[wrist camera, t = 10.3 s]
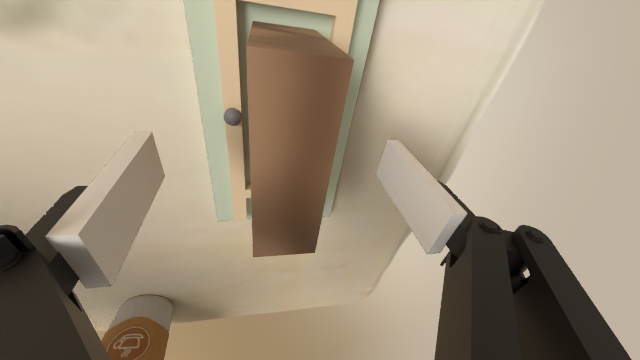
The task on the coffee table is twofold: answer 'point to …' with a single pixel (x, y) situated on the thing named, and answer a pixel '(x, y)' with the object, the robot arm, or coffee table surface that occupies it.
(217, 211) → the mint cabinet door
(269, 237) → the brown wooden picture frame
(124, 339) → the coffee cup
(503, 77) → the coffee table surface
